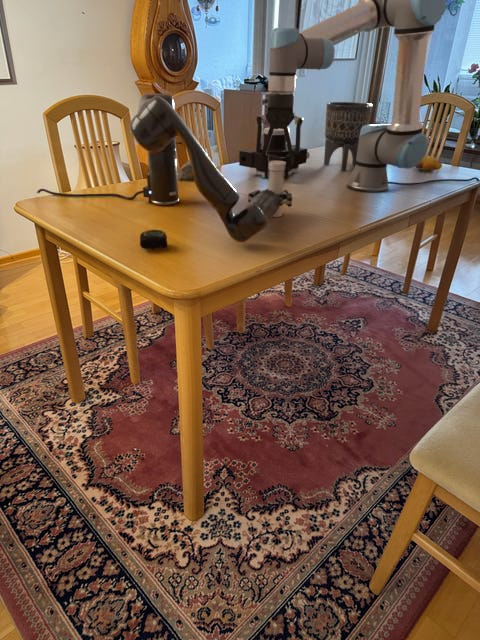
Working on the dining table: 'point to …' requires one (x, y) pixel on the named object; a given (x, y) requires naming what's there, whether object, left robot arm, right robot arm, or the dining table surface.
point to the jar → (276, 186)
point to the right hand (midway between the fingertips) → (276, 177)
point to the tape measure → (153, 239)
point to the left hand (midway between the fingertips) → (277, 192)
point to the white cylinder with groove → (277, 165)
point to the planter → (345, 128)
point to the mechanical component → (273, 153)
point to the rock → (186, 172)
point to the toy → (429, 164)
